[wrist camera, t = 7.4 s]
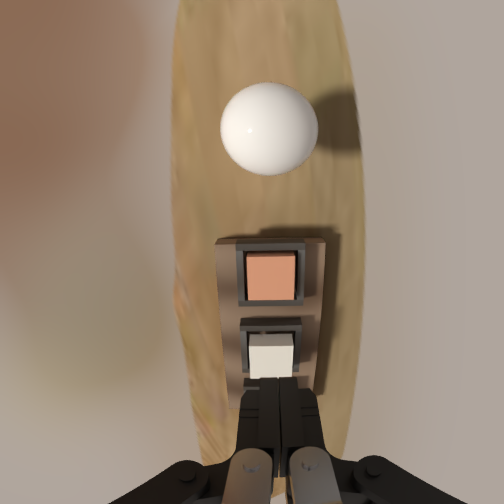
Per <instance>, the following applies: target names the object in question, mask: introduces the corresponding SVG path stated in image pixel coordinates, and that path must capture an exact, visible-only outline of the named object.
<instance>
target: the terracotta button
mask: <svg viewBox="0 0 504 504" xmlns="http://www.w3.org/2000/svg"><path fill="white" fill-rule="evenodd" d="M294 277H295V255H294V252H293V250H267V251H248V252H247V281H248V300H294Z"/></svg>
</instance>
